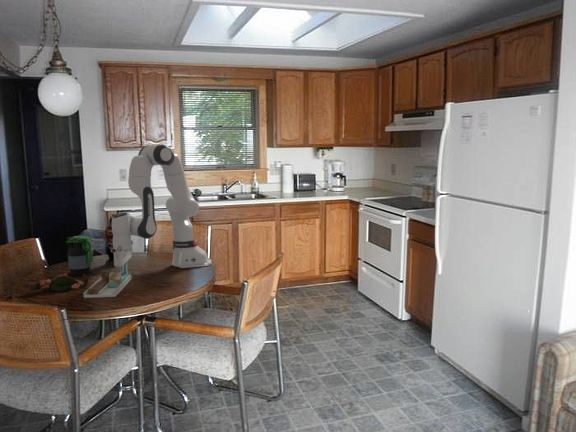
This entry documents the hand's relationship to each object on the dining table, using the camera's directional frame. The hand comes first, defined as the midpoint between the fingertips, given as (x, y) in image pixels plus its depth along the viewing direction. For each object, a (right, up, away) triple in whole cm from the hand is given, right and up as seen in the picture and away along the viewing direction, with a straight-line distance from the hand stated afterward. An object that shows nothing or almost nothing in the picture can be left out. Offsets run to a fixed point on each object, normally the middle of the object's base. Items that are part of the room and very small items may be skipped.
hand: (123, 270), depth 236 cm
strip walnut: (-5, -6, -17) cm, 19 cm away
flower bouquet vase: (-13, 0, +28) cm, 31 cm away
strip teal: (+1, -4, -8) cm, 9 cm away
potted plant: (-26, -3, +11) cm, 29 cm away
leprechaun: (-25, -7, -16) cm, 30 cm away
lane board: (-2, -6, -14) cm, 15 cm away
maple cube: (+1, -4, -14) cm, 15 cm away
